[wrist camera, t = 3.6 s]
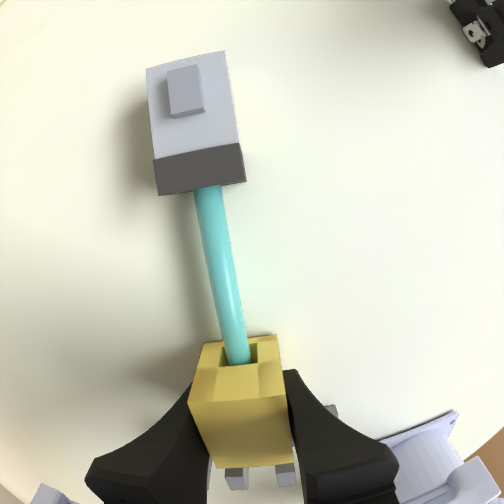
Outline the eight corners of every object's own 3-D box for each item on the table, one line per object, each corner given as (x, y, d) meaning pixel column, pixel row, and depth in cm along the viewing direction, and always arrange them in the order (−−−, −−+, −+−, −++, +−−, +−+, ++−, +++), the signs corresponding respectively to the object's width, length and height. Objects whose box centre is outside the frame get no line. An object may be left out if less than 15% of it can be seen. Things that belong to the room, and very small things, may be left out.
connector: (242, 153, 11) (238, 140, 8) (175, 165, 11) (149, 159, 8) (229, 76, 10) (222, 42, 7) (166, 90, 10) (139, 63, 7)
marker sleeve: (285, 402, 14) (293, 462, 10) (223, 409, 14) (216, 468, 10) (276, 334, 13) (285, 394, 8) (204, 342, 13) (187, 402, 9)
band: (246, 181, 11) (245, 179, 9) (180, 193, 11) (158, 196, 9) (242, 153, 11) (238, 142, 8) (175, 165, 11) (153, 159, 8)
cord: (268, 438, 13) (269, 451, 12) (251, 440, 13) (251, 453, 12) (212, 121, 10) (208, 115, 9) (186, 126, 10) (180, 120, 9)
